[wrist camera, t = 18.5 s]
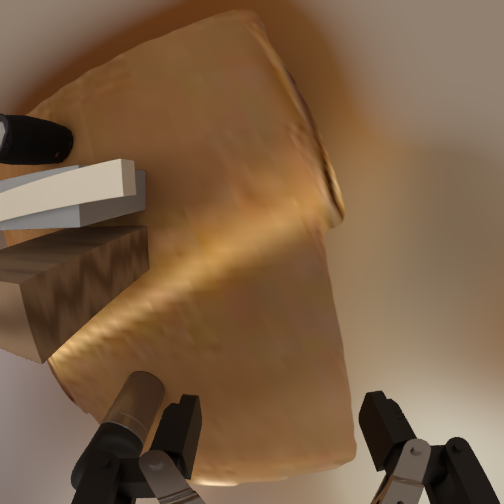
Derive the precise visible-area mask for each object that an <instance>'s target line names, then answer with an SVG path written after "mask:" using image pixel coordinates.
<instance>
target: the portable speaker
mask: <svg viewBox="0 0 504 504" xmlns="http://www.w3.org/2000/svg"><path fill="white" fill-rule="evenodd" d="M72 144H73V136H72V134H71V131H70V130H68V129H67V128H66V127H64V126H61V125H59V124H56V123H54V122H51V121H47V120H43V119H38V118H34V117H29V116H25V115H3V114H0V163H3V164H10V165H41V164H52V163H60V162H62V160H63V159H64V157H65V156H66V155H67V153H68V151H69V149H70V148H71V147H72Z"/></svg>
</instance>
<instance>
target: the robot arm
mask: <svg viewBox="0 0 504 504" xmlns="http://www.w3.org/2000/svg"><path fill="white" fill-rule="evenodd" d="M164 393H165V390H164V387H163V385H162V383H161V382H160V381H159V380H158V379H157V378H156V377H154V376H153V375H151V374H149V373H146V372H134V373H132V374H131V375H130V376H129V378H128V379H127V381H126V383H125V384H124V386H123V387H122V389H121V391H120V392H119V394H118V396H117V398H116V399H115V401H114V403H113V404H112V406H111V408H110V409H109V411H108V413H107V414H106V416H105V418H104V420H103V421H102V423H101V425H100V427H99V429H98V430H97V432H96V433H95V435H94V437H93V438H92V440H91V442H90V443H89V445H88V446H87V448H86V449H85V451H84V452H83V454H82V455H81V457H80V458H79V460H78V461H77V463H76V465H75V467H74V469H73V471H72V475H71V484H72V486H73V488H74V489H76V493H75V495H74V498H73V501H72V503H71V504H135V502H136V498H157V499H158V501H159V503H160V504H205V502H204V501H203V500H202V498H201V497H200V496H199V495H198V493H197V492H195V491H193V490H192V488H191V487H190V486H189V484H188V483H187V482H186V480H185V479H189V480H191V475H192V470H193V465H194V460H195V455H196V450H197V446H198V441H199V436H200V431H201V426H202V415H201V408H200V400H199V396H197V395H187V394H183V395H182V397H181V400H180V403H179V404H176V403H171V404H170V405H169V406H168V407H167V408H166V409H165V410H164V412H163V415H162V419H161V420H160V423H159V426H158V428H157V431H156V434H155V437H154V439H153V442H152V445H151V447H150V450H149V451H147V452H145V453H144V454H142V455H141V456H140V454H141V452H142V449H143V447H144V444H145V441H146V439H147V436H148V434H149V431H150V429H151V426H152V424H153V421H154V419H155V416H156V414H157V411H158V409H159V406H160V404H161V401H162V399H163V396H164ZM359 424H360V427H361V430H362V433H363V435H364V438H365V440H366V443H367V446H368V448H369V451H370V454H371V456H372V459H373V462H374V465H375V468H376V470H377V472H378V471H382V470H385V471H386V475H385V477H384V478H383V481H382V483H381V485H380V487H379V489H378V491H377V493H376V494H375V496H374V498H373V500H372V502H371V504H418V502H419V499H420V497H421V494H422V491H423V488H424V487H425V490H426V492H427V495H428V498H429V501H430V504H500V502H499V500H498V498H497V496H496V494H495V492H494V490H493V488H492V486H491V484H490V482H489V480H488V478H487V476H486V474H485V472H484V470H483V468H482V467H481V465H480V463H479V461H478V459H477V458H476V456H475V454H474V452H473V450H472V449H471V447H470V445H469V443H468V442H467V441H466V440H465V439H463V438H460V437H454V438H451V439H449V441H448V442H447V443H446V444H445V445H435V446H430V445H429V444H428V443H427V442H426V441H424V440H422V439H417V437H416V436H415V434H414V432H413V430H412V428H411V426H410V425H409V423H408V421H407V419H406V418H405V416H404V414H403V413H402V410H401V409H400V407H399V405H398V404H397V403H396V402H395V401H393V400H392V399H387V398H386V396H385V395H384V393H383V392H382V391H375V392H368V393H366V395H365V398H364V401H363V404H362V407H361V409H360V412H359ZM139 456H140V457H139Z"/></svg>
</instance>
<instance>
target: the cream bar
mask: <svg viewBox="0 0 504 504" xmlns="http://www.w3.org/2000/svg"><path fill="white" fill-rule="evenodd" d="M131 195H136V184H135V170H134V161H132V160H126V159H117V160H112V161H108V162H103V163H99V164H95V165H90V166H86V167H82V168H78V169H75V170H71V171H67V172H63V173H60V174H56V175H53V176H50V177H46V178H43V179H40V180H37V181H34V182H30V183H27V184H24V185H22V186H19V187H16V188H13V189H10V190H7V191H5V192H2V193H0V222H1V221H5V220H9V219H13V218H17V217H21V216H25V215H29V214H34V213H38V212H43V211H47V210H52V209H57V208H62V207H67V206H72V205H77V204H82V203H88V202H94V201H99V200H105V199H111V198H118V197H124V196H131Z"/></svg>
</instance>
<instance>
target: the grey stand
mask: <svg viewBox="0 0 504 504" xmlns="http://www.w3.org/2000/svg"><path fill="white" fill-rule="evenodd" d="M82 167H86V165H76V166H69V167H63V168H58V169H52V170H47V171H42V172H37V173H32V174H28V175H23V176H19V177H15V178H10V179H6V180H2V181H0V193H2V192H5V191H7V190H10V189H13V188H16V187H19V186H22V185H24V184H27V183H30V182H34V181H37V180H40V179H43V178H46V177H50V176H53V175H56V174H60V173H63V172H67V171H71V170H75V169H78V168H82ZM135 184H136V195H131V196H124V197H118V198H111V199H105V200H99V201H94V202H88V203H82V204H77V205H72V206H67V207H62V208H57V209H52V210H47V211H43V212H38V213H34V214H29V215H25V216H21V217H17V218H13V219H9V220H5V221H1V222H0V230H17V229H41V228H72V227H83V226H86V225H90V224H93V223H97V222H100V221H104V220H108V219H111V218H115V217H119V216H123V215H127V214H131V213H134V212H138V211H142V210H146V171H143V170H135Z"/></svg>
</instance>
